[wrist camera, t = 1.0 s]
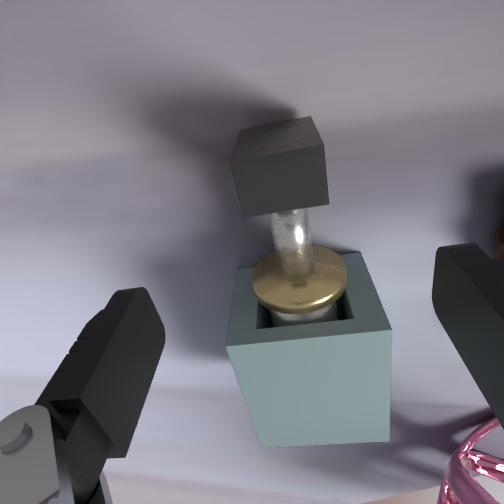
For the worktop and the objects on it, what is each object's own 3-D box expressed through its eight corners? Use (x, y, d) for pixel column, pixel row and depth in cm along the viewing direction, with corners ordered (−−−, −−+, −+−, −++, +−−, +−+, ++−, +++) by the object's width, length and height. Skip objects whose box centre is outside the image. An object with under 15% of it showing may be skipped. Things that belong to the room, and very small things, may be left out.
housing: (360, 251, 27) (392, 329, 20) (364, 354, 33) (389, 441, 26) (237, 268, 28) (225, 346, 21) (263, 363, 34) (261, 448, 27)
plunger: (327, 112, 20) (346, 140, 15) (344, 325, 30) (359, 390, 24) (225, 133, 21) (209, 166, 16) (272, 332, 31) (272, 396, 25)
